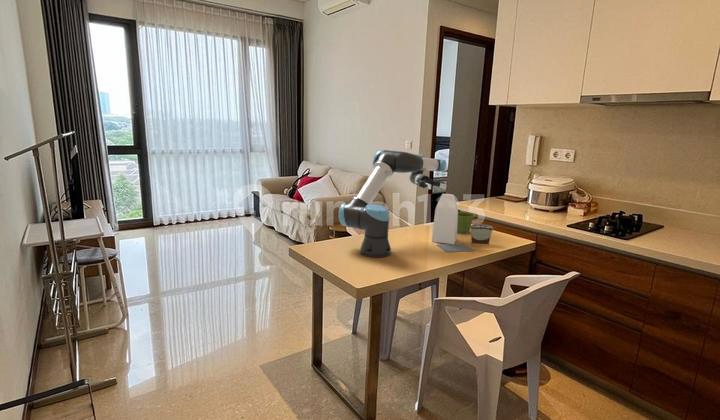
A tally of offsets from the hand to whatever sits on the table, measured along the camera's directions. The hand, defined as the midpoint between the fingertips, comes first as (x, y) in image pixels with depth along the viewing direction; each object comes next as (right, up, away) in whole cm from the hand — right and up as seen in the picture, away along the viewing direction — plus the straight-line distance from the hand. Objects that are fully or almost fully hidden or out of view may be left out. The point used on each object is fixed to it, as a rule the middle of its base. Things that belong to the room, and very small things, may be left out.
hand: (438, 186), depth 220 cm
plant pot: (+17, -27, +11) cm, 34 cm away
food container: (+21, -32, -8) cm, 39 cm away
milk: (+2, -30, -6) cm, 31 cm away
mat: (+5, -33, -19) cm, 38 cm away
